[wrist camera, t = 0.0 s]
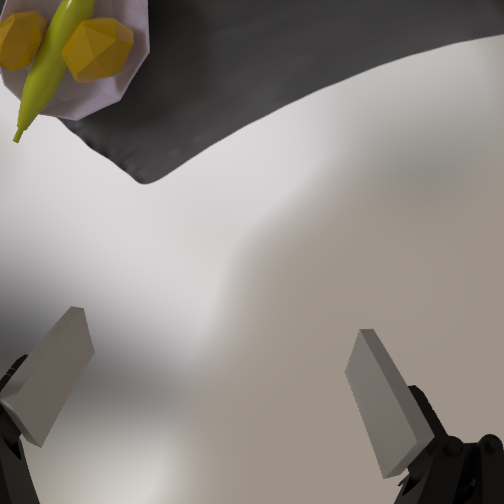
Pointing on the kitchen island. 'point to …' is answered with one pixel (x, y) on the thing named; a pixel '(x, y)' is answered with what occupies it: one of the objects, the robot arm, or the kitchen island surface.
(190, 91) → the kitchen island surface
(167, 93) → the kitchen island surface
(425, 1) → the kitchen island surface
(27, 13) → the fruit bowl
